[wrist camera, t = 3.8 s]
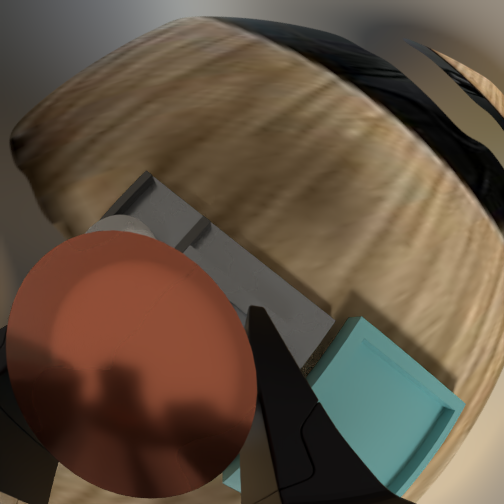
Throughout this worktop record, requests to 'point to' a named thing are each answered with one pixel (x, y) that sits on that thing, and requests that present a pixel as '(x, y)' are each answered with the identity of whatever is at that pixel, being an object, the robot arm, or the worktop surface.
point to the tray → (379, 405)
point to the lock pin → (131, 365)
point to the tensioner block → (219, 261)
